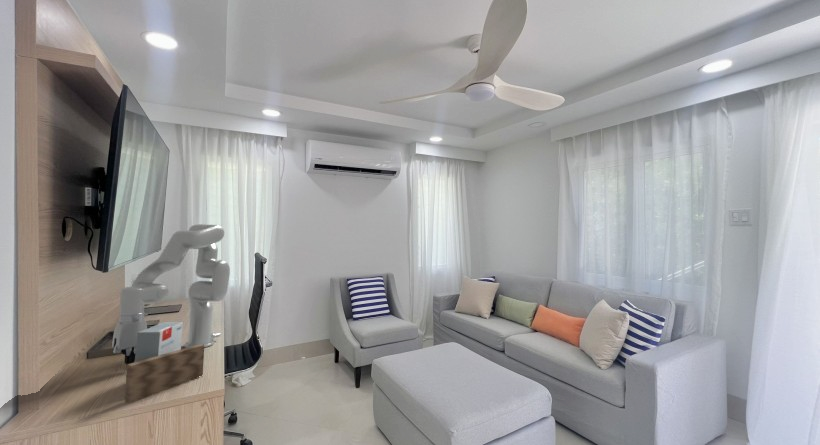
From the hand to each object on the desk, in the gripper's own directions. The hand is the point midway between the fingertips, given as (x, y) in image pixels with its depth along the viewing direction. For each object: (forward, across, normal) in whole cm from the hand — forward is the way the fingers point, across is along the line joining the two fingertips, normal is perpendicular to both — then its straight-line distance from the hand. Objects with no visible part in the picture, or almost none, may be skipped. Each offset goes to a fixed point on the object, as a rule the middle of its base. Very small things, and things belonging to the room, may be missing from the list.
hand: (129, 364), depth 130 cm
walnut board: (+3, +1, +27) cm, 28 cm away
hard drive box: (+3, -1, +18) cm, 18 cm away
